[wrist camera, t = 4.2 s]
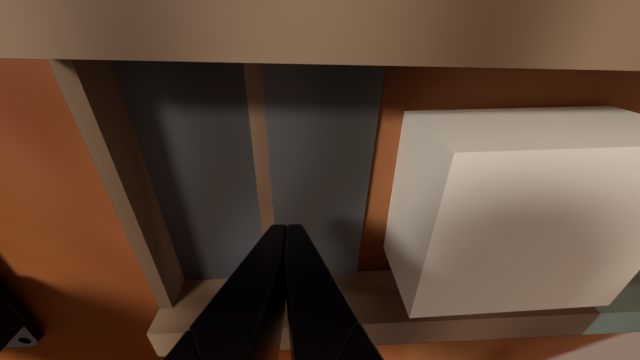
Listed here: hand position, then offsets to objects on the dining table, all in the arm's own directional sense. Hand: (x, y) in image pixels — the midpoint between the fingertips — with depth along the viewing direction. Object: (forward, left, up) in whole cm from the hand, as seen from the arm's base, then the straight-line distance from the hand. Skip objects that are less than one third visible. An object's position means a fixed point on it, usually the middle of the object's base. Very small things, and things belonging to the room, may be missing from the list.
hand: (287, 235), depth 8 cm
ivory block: (+7, 0, -3) cm, 8 cm away
